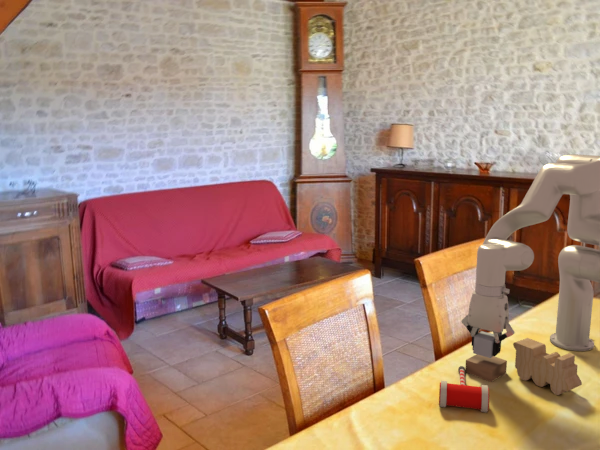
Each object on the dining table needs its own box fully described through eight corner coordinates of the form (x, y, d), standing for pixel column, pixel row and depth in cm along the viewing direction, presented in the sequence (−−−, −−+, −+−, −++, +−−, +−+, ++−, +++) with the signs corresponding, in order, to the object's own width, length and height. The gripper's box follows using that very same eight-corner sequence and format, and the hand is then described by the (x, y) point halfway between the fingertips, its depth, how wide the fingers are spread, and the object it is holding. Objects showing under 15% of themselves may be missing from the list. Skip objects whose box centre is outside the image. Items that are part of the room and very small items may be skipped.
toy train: (568, 400, 137) (571, 363, 136) (510, 374, 152) (513, 341, 150) (580, 394, 140) (584, 358, 138) (523, 369, 155) (525, 336, 153)
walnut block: (480, 364, 158) (481, 351, 158) (506, 373, 152) (506, 360, 152) (465, 373, 153) (465, 359, 153) (491, 383, 147) (491, 369, 147)
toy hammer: (440, 370, 155) (440, 349, 154) (483, 374, 152) (484, 353, 151) (438, 411, 134) (439, 387, 132) (488, 417, 131) (490, 393, 129)
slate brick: (480, 347, 155) (481, 331, 154) (497, 352, 151) (498, 335, 150) (473, 353, 151) (474, 336, 150) (490, 358, 148) (491, 341, 147)
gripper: (526, 292, 145) (521, 355, 148) (465, 280, 156) (462, 339, 159) (516, 299, 139) (511, 365, 143) (454, 286, 150) (451, 347, 154)
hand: (485, 351), depth 151 cm, fingers closed on slate brick, 5 cm apart
